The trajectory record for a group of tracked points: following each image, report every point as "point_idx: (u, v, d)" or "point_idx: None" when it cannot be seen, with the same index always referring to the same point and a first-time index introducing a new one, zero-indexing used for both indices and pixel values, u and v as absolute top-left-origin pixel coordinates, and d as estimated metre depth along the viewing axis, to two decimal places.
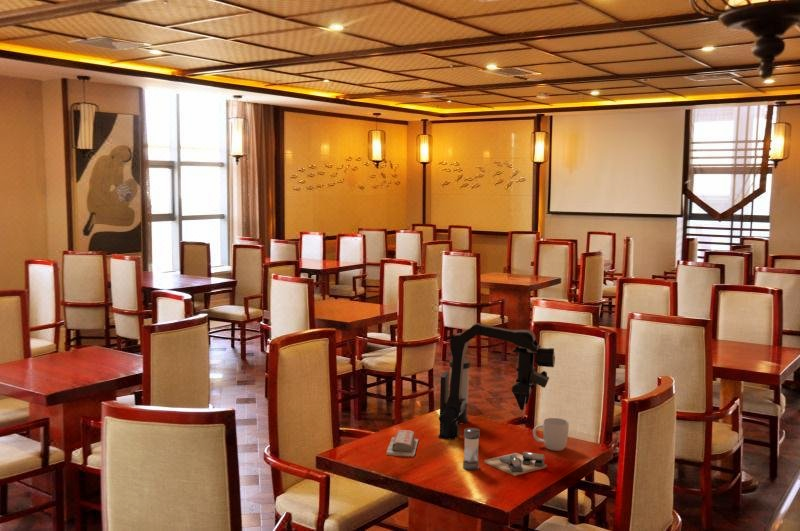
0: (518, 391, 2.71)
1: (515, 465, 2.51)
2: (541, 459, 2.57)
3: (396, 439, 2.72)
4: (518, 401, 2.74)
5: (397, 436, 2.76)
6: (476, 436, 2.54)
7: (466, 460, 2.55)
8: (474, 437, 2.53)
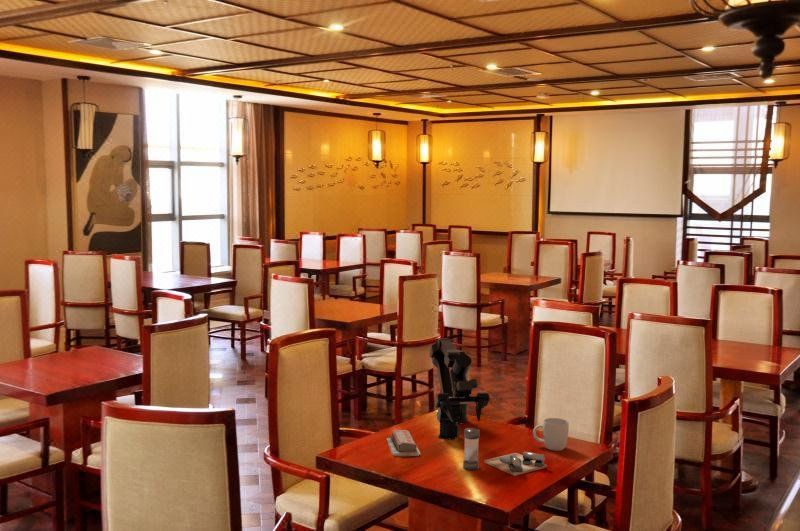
0: (436, 403, 2.68)
1: (515, 465, 2.51)
2: (541, 459, 2.57)
3: (399, 440, 2.71)
4: (447, 415, 2.66)
5: (397, 437, 2.75)
6: (476, 436, 2.54)
7: (466, 460, 2.55)
8: (474, 437, 2.53)
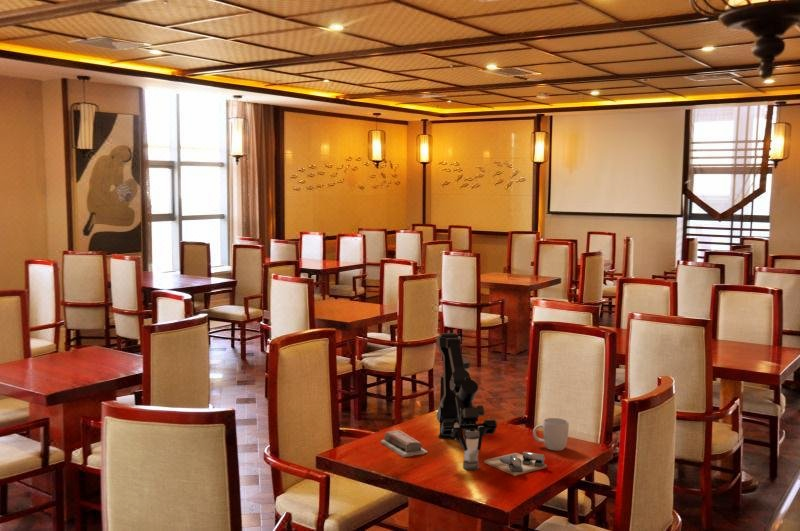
0: (441, 430, 2.59)
1: (515, 465, 2.51)
2: (541, 459, 2.57)
3: (404, 440, 2.71)
4: (459, 443, 2.57)
5: (399, 437, 2.74)
6: (476, 436, 2.54)
7: (466, 460, 2.55)
8: (474, 437, 2.53)
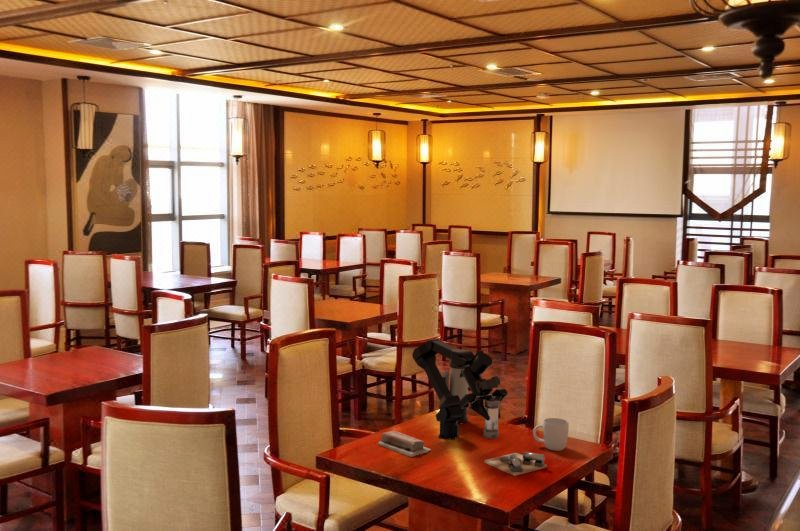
0: (463, 404, 2.67)
1: (515, 465, 2.51)
2: (541, 459, 2.57)
3: (407, 440, 2.71)
4: (480, 413, 2.69)
5: (400, 437, 2.74)
6: (498, 405, 2.67)
7: (489, 429, 2.68)
8: (497, 406, 2.67)
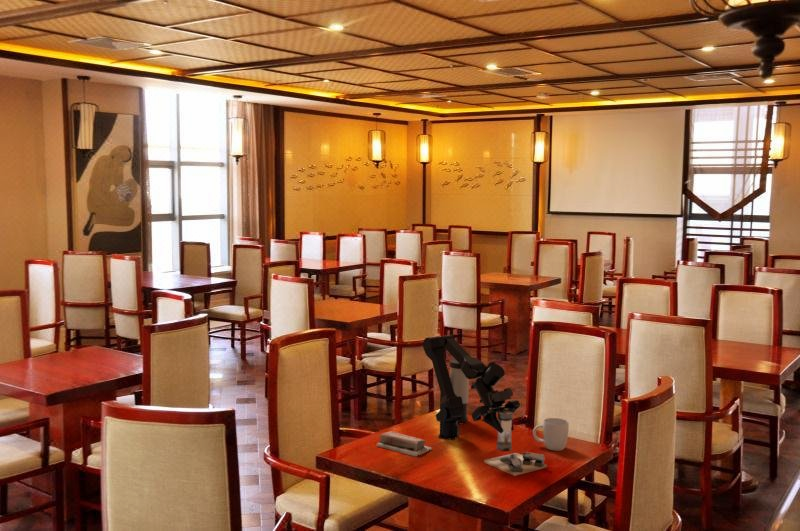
0: (475, 416, 2.62)
1: (515, 465, 2.51)
2: (541, 459, 2.57)
3: (409, 440, 2.72)
4: (493, 426, 2.64)
5: (401, 438, 2.74)
6: (512, 417, 2.62)
7: (502, 442, 2.62)
8: (510, 418, 2.62)
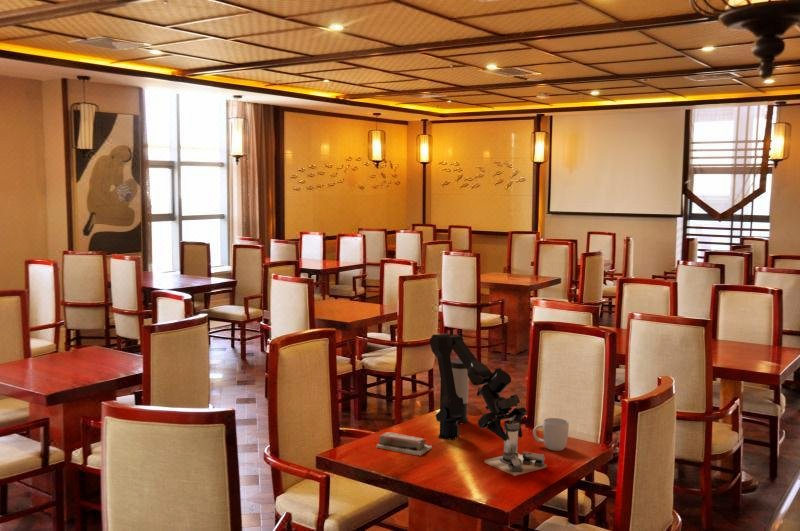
0: (482, 424, 2.60)
1: (515, 465, 2.51)
2: (541, 459, 2.57)
3: (411, 439, 2.72)
4: (497, 434, 2.60)
5: (402, 438, 2.74)
6: (518, 428, 2.60)
7: (509, 453, 2.60)
8: (517, 429, 2.59)
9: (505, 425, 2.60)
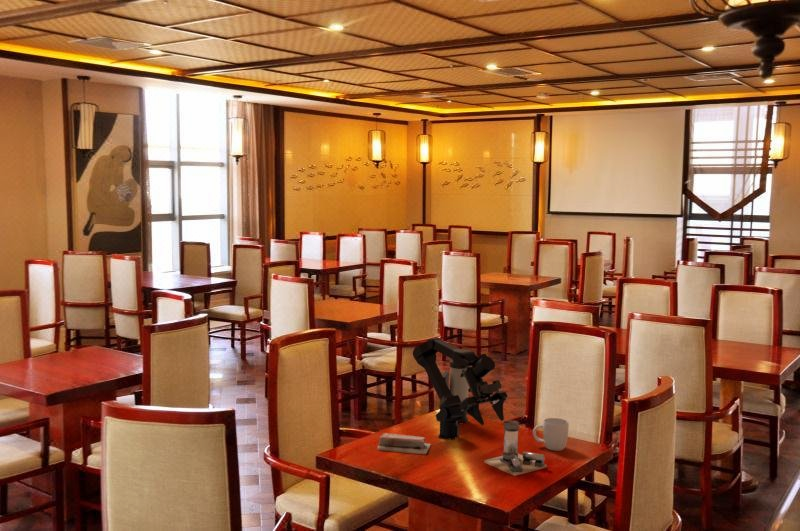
0: (463, 407, 2.68)
1: (515, 465, 2.51)
2: (541, 459, 2.57)
3: (414, 439, 2.73)
4: (475, 418, 2.69)
5: (404, 438, 2.74)
6: (518, 428, 2.60)
7: (508, 452, 2.60)
8: (517, 429, 2.60)
9: (505, 425, 2.60)
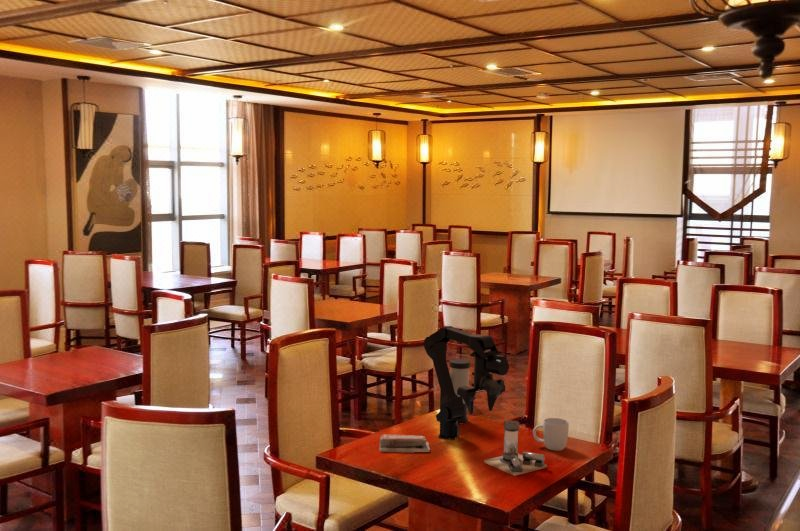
0: (460, 394, 2.72)
1: (515, 465, 2.51)
2: (541, 459, 2.57)
3: (415, 438, 2.74)
4: (466, 405, 2.74)
5: (405, 438, 2.74)
6: (518, 428, 2.60)
7: (508, 452, 2.60)
8: (517, 429, 2.60)
9: (505, 425, 2.60)
